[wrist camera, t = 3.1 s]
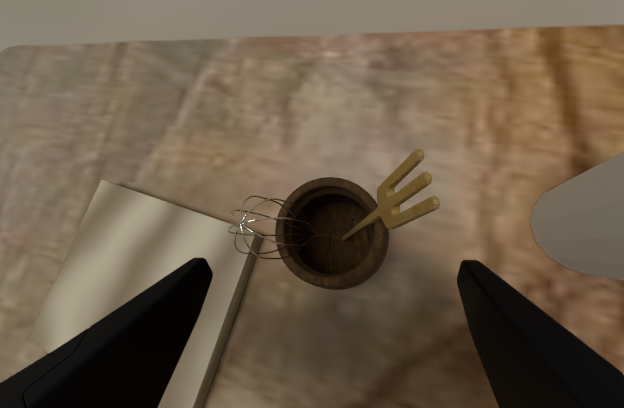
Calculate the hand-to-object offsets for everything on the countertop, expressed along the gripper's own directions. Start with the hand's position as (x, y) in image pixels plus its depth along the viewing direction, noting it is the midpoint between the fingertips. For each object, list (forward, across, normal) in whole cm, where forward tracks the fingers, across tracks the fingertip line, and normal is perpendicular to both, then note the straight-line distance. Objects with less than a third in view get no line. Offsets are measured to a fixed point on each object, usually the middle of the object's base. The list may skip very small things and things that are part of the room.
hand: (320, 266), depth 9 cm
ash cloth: (+5, +16, +8) cm, 18 cm away
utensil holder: (+8, 0, +6) cm, 9 cm away
